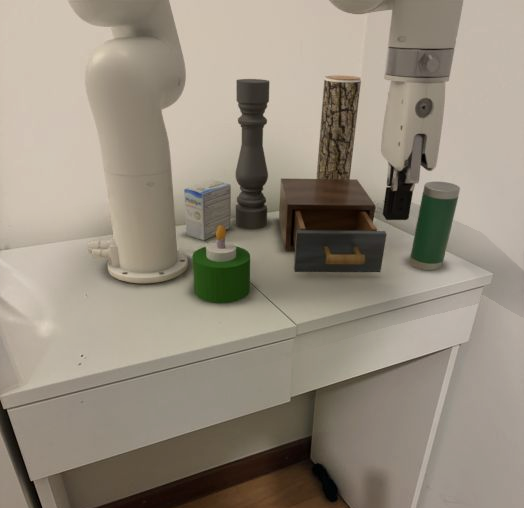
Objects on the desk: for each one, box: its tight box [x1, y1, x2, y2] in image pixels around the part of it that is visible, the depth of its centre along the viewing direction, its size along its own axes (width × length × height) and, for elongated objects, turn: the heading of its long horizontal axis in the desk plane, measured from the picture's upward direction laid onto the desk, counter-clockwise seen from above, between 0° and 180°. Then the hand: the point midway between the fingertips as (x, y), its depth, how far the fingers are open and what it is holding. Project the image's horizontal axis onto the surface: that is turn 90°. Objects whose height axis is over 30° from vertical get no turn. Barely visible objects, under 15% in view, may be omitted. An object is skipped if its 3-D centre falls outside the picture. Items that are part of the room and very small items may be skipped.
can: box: [409, 181, 461, 271], centre depth 83 cm, size 5×5×13 cm
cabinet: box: [278, 178, 376, 252], centre depth 95 cm, size 16×15×8 cm
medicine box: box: [183, 179, 232, 241], centre depth 94 cm, size 8×4×9 cm, turn 144°
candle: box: [191, 225, 251, 304], centre depth 74 cm, size 8×8×10 cm
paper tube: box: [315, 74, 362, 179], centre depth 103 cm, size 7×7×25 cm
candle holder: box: [235, 78, 270, 230], centre depth 95 cm, size 6×6×25 cm
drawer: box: [292, 209, 388, 273], centre depth 83 cm, size 20×14×6 cm
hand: (395, 217), depth 71 cm, fingers closed
